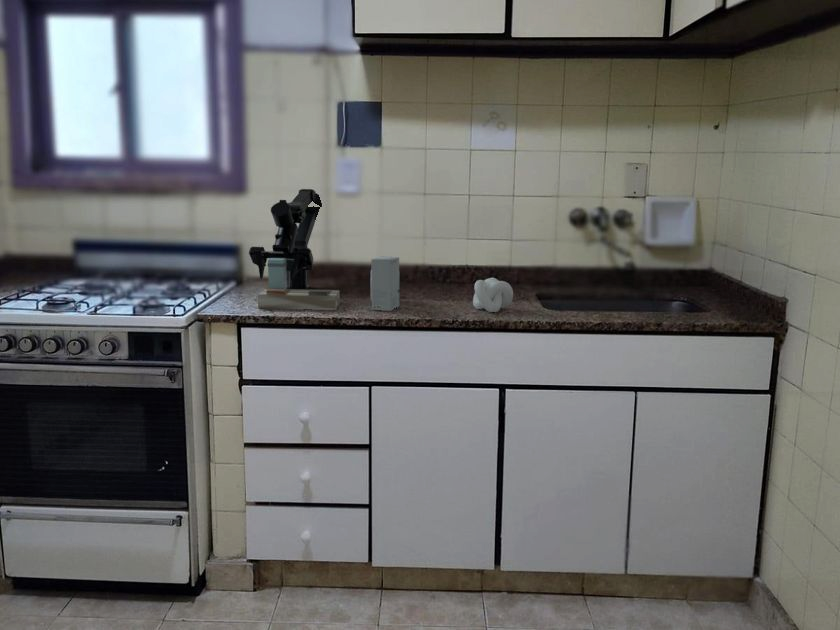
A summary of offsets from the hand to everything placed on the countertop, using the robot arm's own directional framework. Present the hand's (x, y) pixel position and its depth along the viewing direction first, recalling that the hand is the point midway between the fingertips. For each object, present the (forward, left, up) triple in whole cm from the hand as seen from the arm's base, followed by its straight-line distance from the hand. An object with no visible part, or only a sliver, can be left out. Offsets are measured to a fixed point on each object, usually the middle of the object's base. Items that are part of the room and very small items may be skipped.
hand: (275, 278), depth 227 cm
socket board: (+7, +8, -7) cm, 13 cm away
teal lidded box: (-1, 0, -7) cm, 7 cm away
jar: (-3, +32, -7) cm, 33 cm away
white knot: (+7, +64, -7) cm, 65 cm away
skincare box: (+8, +33, -7) cm, 35 cm away
